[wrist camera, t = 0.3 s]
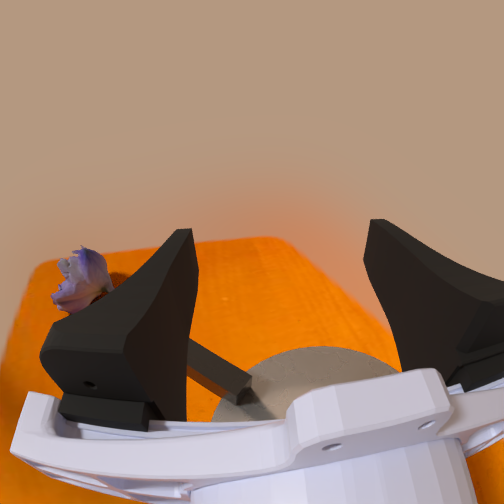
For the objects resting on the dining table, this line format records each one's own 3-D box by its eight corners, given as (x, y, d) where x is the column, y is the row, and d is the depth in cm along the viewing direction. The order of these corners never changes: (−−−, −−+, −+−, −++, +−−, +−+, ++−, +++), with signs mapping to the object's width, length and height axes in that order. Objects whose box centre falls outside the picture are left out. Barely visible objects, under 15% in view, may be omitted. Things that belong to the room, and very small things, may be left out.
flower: (142, 244, 36) (65, 222, 32) (132, 313, 32) (46, 292, 27) (128, 270, 43) (64, 254, 38) (119, 328, 39) (51, 312, 34)
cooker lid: (451, 396, 21) (466, 381, 20) (377, 581, 10) (394, 584, 8) (242, 300, 30) (243, 281, 29) (110, 434, 18) (98, 422, 17)
